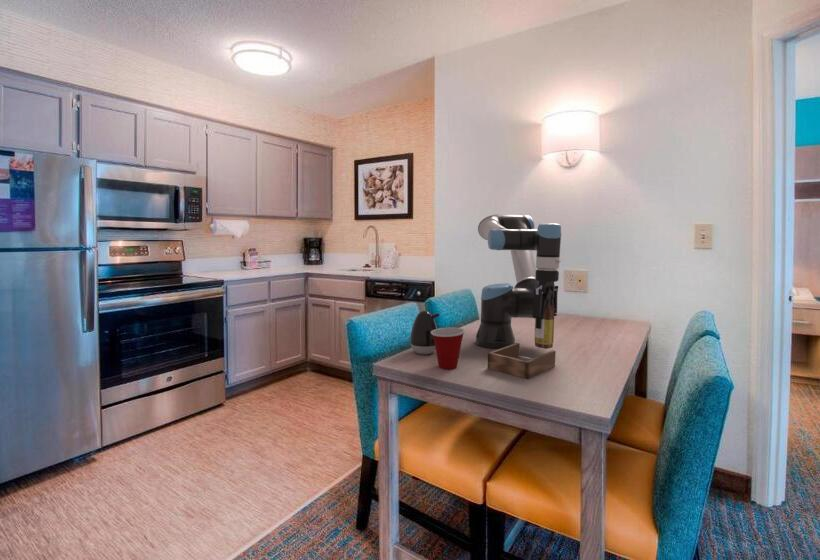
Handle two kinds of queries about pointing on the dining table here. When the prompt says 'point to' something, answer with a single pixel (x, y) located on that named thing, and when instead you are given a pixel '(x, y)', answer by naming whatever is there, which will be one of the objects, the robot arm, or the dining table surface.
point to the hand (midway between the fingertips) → (543, 335)
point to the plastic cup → (448, 346)
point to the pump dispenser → (423, 333)
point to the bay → (519, 362)
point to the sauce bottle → (547, 326)
